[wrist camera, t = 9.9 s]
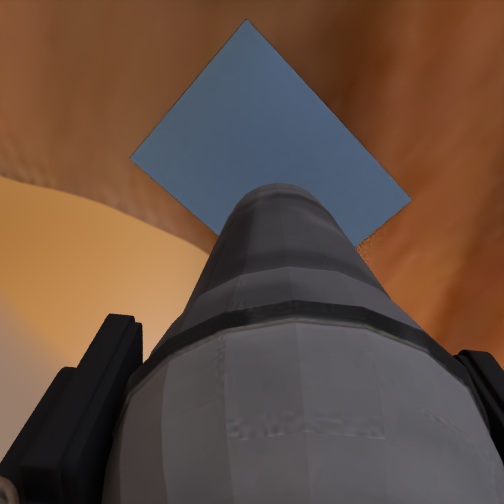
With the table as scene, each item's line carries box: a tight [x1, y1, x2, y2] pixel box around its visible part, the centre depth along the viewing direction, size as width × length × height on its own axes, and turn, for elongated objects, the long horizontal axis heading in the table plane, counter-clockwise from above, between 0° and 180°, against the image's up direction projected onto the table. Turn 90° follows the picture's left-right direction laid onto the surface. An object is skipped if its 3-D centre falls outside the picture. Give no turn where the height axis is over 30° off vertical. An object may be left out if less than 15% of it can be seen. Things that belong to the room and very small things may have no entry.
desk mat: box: [130, 19, 412, 248], centre depth 32 cm, size 18×13×1 cm
